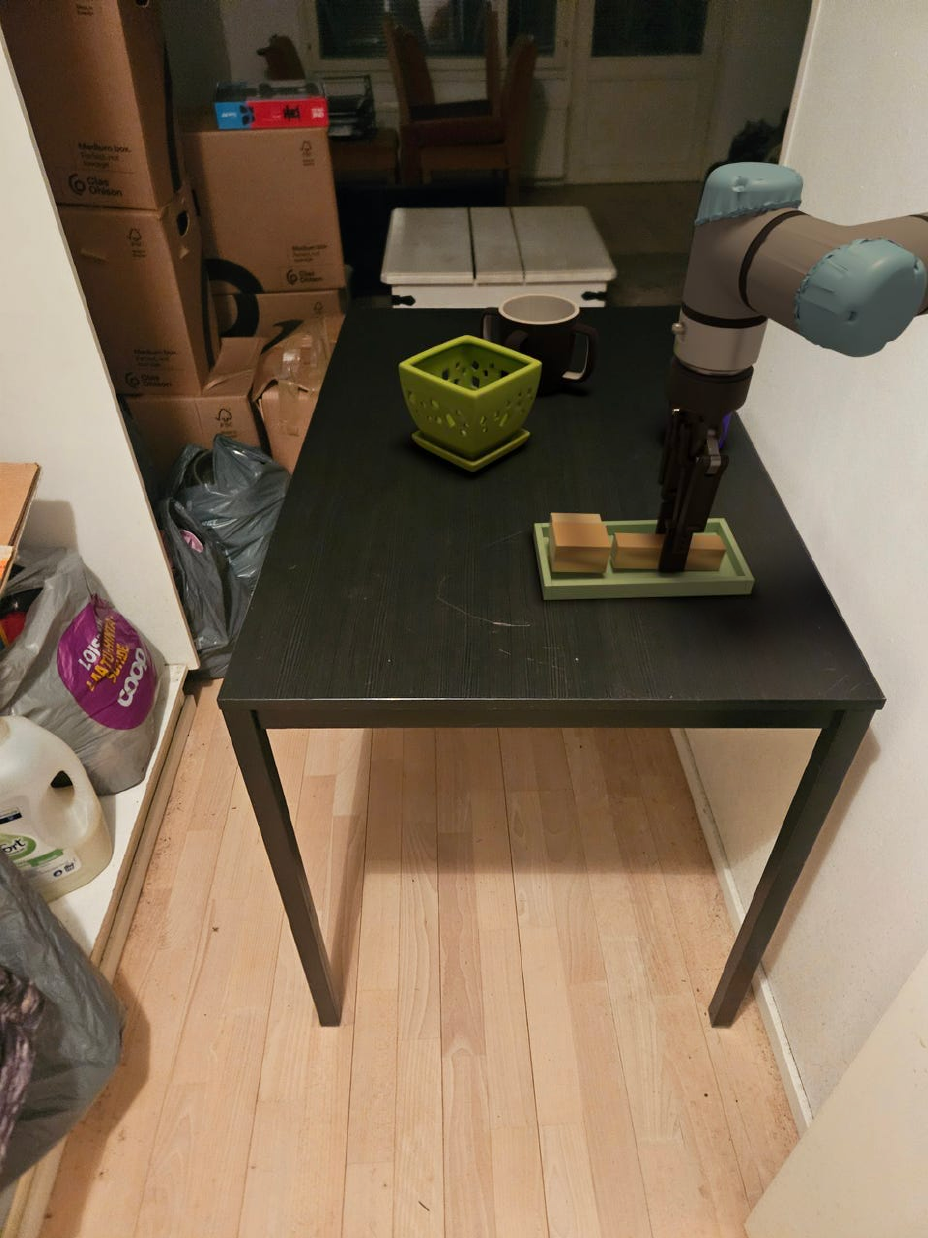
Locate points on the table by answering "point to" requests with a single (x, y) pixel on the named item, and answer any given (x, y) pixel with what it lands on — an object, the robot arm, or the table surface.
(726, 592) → the tray
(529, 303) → the mug
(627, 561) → the wooden mallet
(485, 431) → the flower pot
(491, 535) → the table surface
